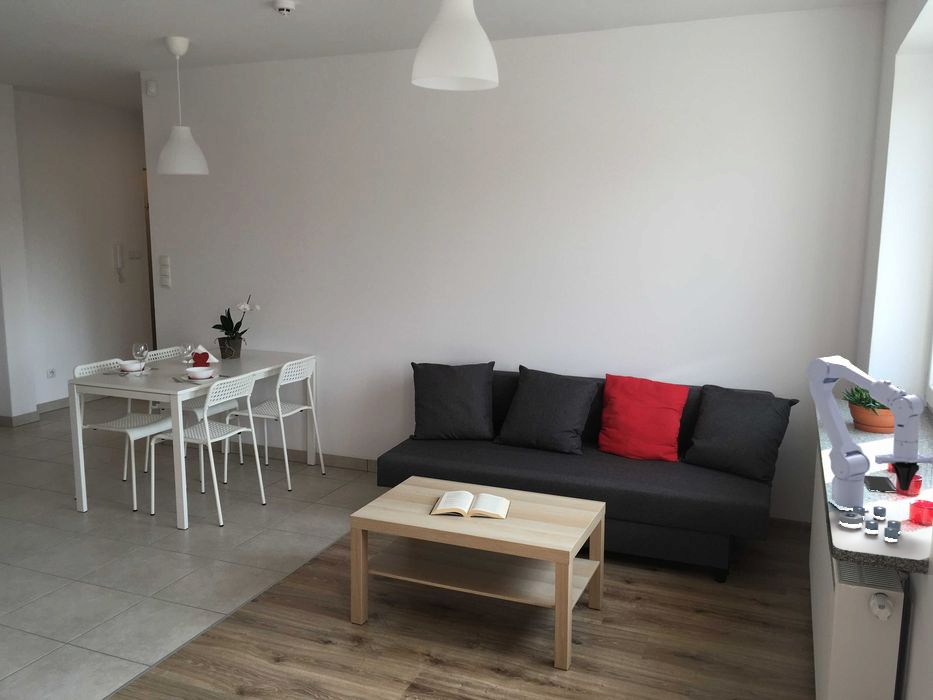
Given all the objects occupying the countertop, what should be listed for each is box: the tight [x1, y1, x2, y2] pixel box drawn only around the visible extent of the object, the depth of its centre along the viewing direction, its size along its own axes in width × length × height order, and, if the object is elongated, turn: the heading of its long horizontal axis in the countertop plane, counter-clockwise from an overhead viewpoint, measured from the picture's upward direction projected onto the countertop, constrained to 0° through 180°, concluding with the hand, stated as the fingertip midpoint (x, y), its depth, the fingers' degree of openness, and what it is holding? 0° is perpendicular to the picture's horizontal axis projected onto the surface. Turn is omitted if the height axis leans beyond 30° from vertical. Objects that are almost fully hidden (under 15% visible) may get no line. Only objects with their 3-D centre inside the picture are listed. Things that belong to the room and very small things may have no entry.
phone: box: [864, 475, 897, 492], centre depth 239 cm, size 8×1×15 cm
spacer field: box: [852, 505, 902, 539], centre depth 201 cm, size 20×10×3 cm, turn 174°
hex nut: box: [838, 511, 864, 524], centre depth 204 cm, size 6×5×3 cm
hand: (904, 489), depth 204 cm, fingers closed
